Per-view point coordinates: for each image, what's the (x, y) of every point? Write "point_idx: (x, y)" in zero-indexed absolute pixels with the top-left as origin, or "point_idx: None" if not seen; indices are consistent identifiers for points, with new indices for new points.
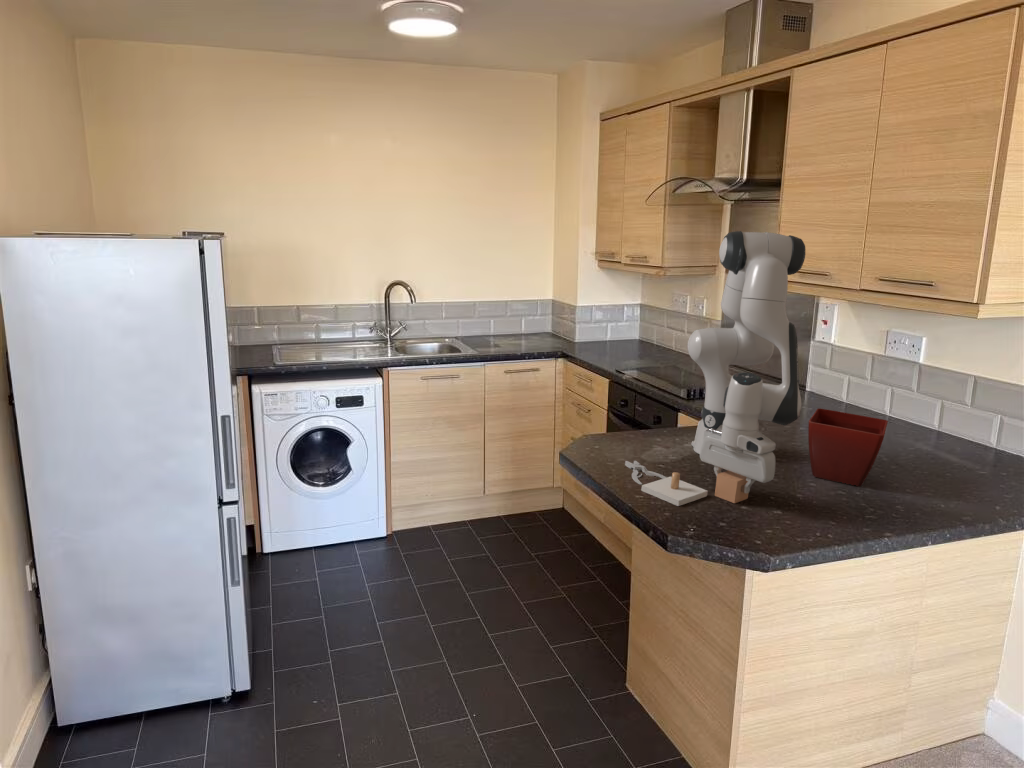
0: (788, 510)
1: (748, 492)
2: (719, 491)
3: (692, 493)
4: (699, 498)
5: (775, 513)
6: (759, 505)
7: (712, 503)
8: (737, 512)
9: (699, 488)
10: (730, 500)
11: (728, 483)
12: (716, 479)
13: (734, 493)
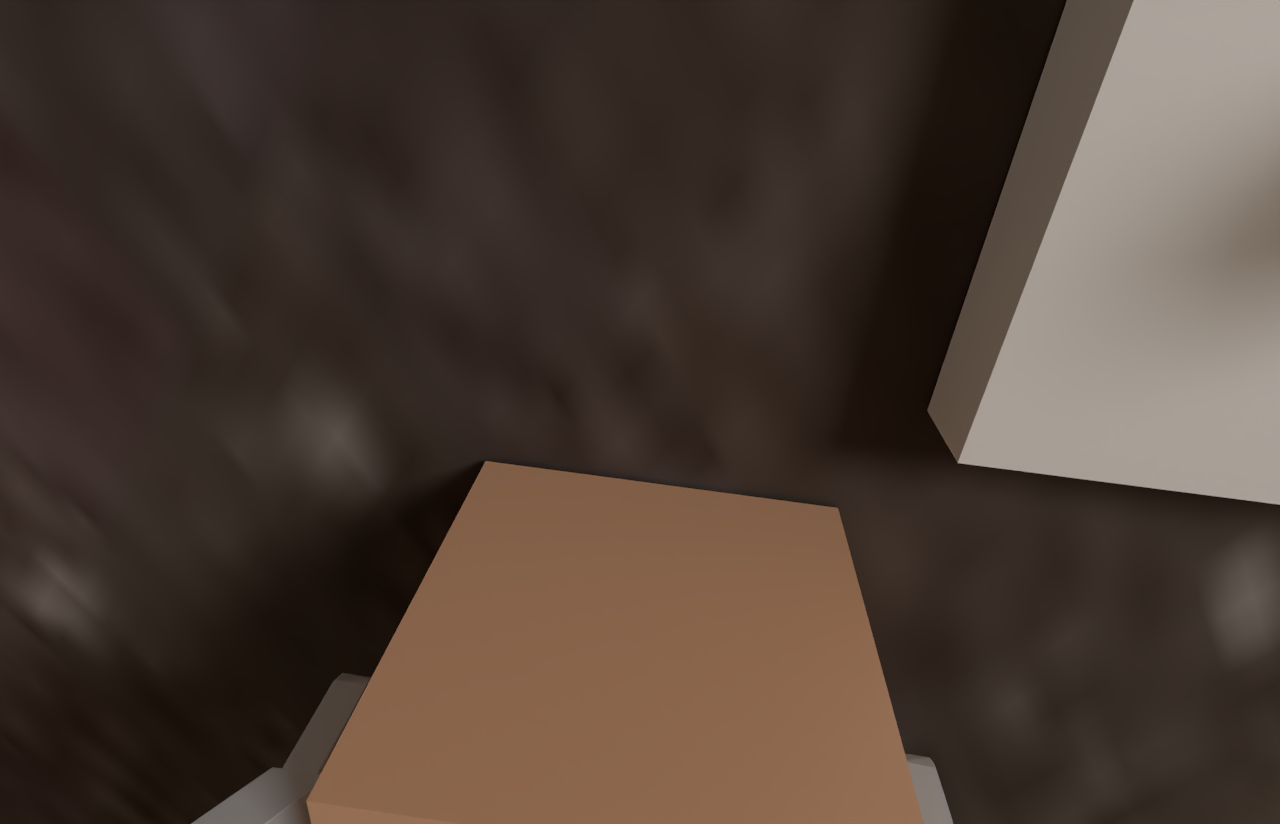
0: (58, 698)
1: None
2: (768, 561)
3: (1222, 58)
4: (1002, 195)
5: (27, 548)
6: (285, 622)
7: (717, 196)
8: (232, 180)
9: (1138, 449)
10: (553, 483)
11: (584, 711)
12: (946, 802)
13: (458, 565)
